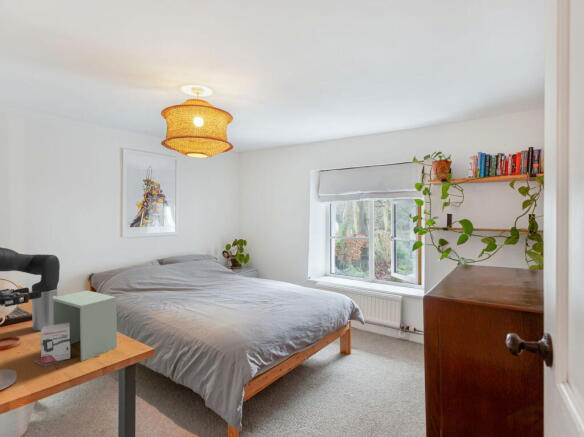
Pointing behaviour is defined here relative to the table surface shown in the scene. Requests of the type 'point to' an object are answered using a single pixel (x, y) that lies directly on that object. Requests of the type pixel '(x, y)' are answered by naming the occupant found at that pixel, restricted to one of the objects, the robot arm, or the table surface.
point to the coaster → (48, 363)
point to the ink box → (55, 343)
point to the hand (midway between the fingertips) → (34, 292)
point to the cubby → (88, 320)
